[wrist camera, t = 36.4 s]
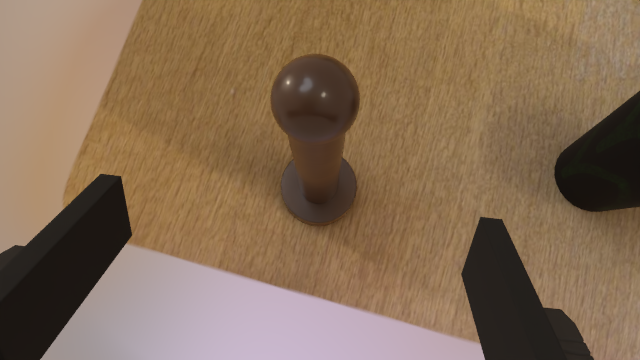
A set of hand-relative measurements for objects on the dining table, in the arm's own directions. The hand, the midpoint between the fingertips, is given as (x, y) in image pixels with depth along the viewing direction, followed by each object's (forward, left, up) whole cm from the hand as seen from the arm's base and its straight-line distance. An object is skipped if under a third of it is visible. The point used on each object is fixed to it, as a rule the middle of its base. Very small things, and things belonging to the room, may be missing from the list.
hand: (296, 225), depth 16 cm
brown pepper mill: (-1, +5, -17) cm, 17 cm away
